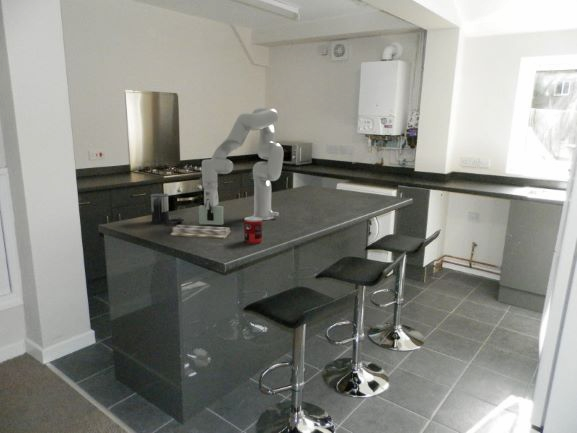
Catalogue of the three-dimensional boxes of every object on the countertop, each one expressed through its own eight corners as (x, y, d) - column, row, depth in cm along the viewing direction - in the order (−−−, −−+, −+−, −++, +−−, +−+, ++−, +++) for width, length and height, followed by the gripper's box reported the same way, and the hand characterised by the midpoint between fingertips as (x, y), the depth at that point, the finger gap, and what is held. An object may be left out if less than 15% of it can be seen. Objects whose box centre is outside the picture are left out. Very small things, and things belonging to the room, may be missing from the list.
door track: (230, 231, 206) (230, 226, 205) (224, 238, 194) (224, 232, 194) (179, 229, 208) (179, 223, 208) (170, 235, 197) (170, 229, 196)
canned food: (244, 239, 193) (244, 216, 191) (261, 239, 194) (261, 216, 191) (244, 244, 186) (244, 220, 183) (262, 244, 186) (262, 220, 184)
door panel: (223, 223, 217) (223, 206, 215) (222, 224, 214) (221, 207, 212) (201, 222, 218) (200, 205, 216) (199, 223, 215) (198, 206, 213)
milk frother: (150, 220, 224) (149, 193, 220) (180, 218, 230) (179, 192, 226) (153, 227, 211) (152, 198, 208) (185, 224, 217) (184, 196, 214)
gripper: (212, 187, 203) (214, 223, 207) (221, 181, 219) (222, 216, 223) (197, 186, 204) (199, 223, 208) (207, 181, 219) (209, 215, 224)
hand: (211, 219), depth 215 cm, fingers closed on door panel, 3 cm apart
